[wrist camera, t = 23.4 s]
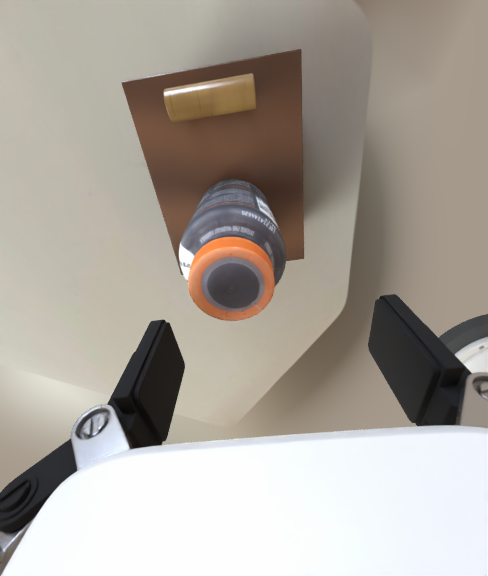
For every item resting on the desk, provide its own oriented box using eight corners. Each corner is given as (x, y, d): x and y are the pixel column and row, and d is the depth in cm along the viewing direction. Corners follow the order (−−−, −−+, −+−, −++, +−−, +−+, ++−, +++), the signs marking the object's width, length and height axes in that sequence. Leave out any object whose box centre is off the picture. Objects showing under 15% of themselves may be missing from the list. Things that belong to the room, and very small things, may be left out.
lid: (124, 83, 17) (91, 68, 13) (299, 51, 16) (317, 26, 12) (182, 271, 24) (171, 297, 20) (302, 255, 24) (314, 279, 20)
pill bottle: (192, 238, 22) (154, 322, 12) (208, 167, 19) (175, 203, 9) (256, 257, 23) (269, 348, 13) (281, 192, 20) (320, 248, 10)
